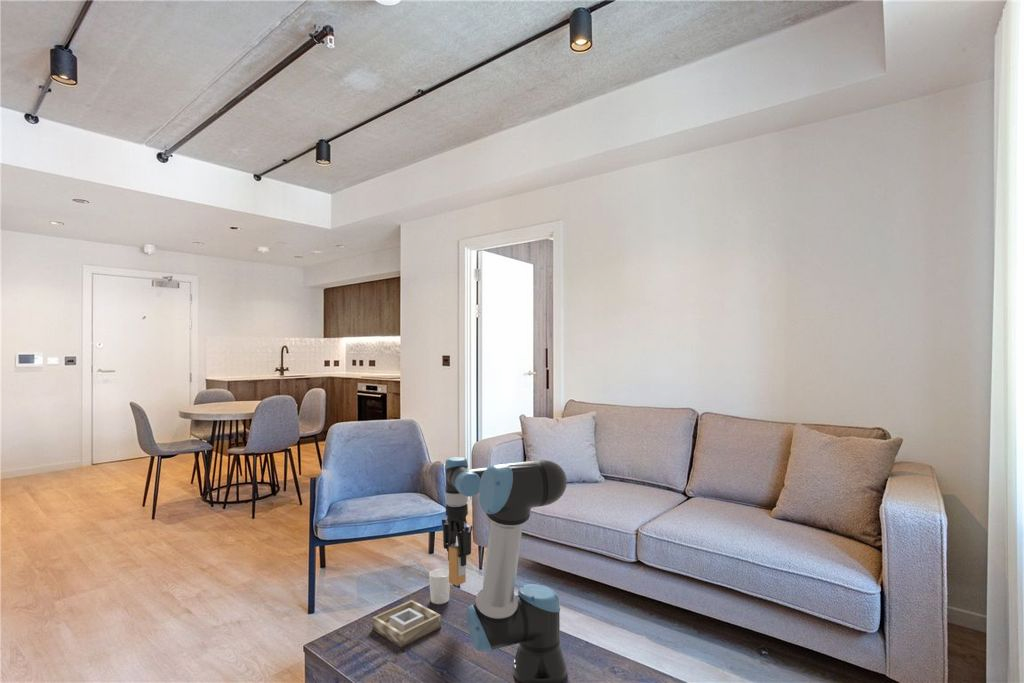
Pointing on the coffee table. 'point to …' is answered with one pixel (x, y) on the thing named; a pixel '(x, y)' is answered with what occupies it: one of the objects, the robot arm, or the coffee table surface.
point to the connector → (455, 566)
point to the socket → (404, 615)
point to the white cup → (439, 585)
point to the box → (403, 638)
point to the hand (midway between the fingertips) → (457, 572)
